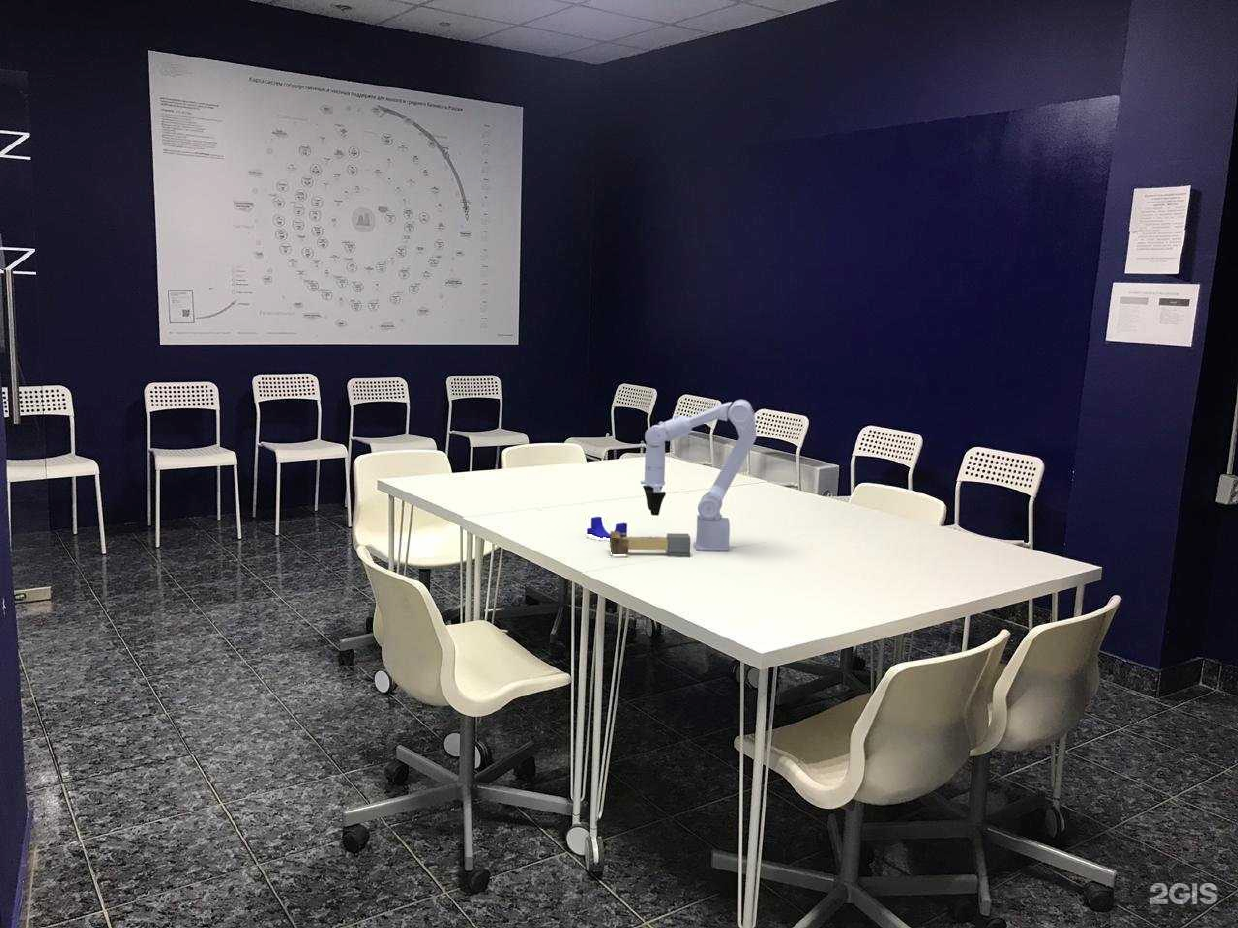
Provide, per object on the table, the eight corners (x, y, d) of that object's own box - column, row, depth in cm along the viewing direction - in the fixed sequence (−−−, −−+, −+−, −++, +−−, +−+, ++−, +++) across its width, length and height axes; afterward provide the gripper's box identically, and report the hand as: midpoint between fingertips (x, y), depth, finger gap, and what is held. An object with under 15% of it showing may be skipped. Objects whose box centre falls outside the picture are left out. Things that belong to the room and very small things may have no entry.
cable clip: (587, 538, 299) (587, 518, 298) (597, 536, 302) (598, 516, 302) (615, 545, 291) (616, 525, 290) (626, 543, 294) (627, 523, 293)
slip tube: (670, 547, 283) (670, 537, 283) (671, 550, 280) (672, 539, 280) (619, 547, 282) (619, 536, 282) (620, 549, 279) (620, 539, 279)
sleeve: (687, 551, 285) (687, 533, 285) (689, 556, 279) (690, 538, 279) (666, 551, 285) (666, 532, 284) (668, 556, 279) (669, 537, 278)
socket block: (625, 550, 285) (626, 531, 284) (628, 557, 277) (628, 537, 276) (610, 549, 285) (610, 531, 284) (611, 556, 277) (612, 537, 276)
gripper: (639, 462, 297) (637, 507, 299) (643, 470, 282) (642, 517, 285) (662, 462, 297) (661, 507, 299) (668, 470, 283) (666, 517, 285)
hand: (653, 512), depth 292 cm, fingers open, 7 cm apart
